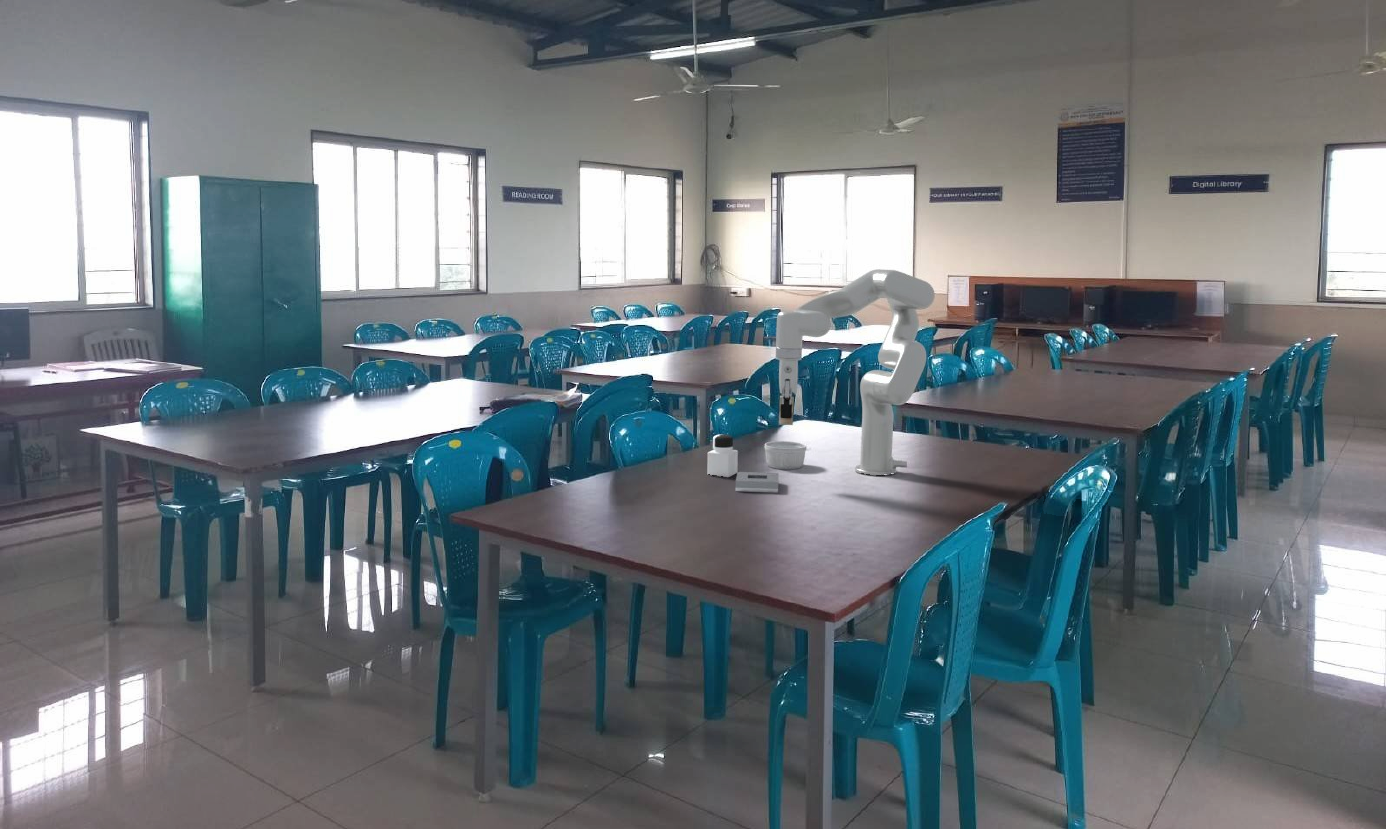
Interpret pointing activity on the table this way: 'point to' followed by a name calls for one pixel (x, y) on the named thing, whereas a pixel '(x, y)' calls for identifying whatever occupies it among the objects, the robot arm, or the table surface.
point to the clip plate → (757, 482)
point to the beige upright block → (786, 420)
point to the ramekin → (785, 454)
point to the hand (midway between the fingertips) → (786, 416)
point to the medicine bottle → (722, 457)
